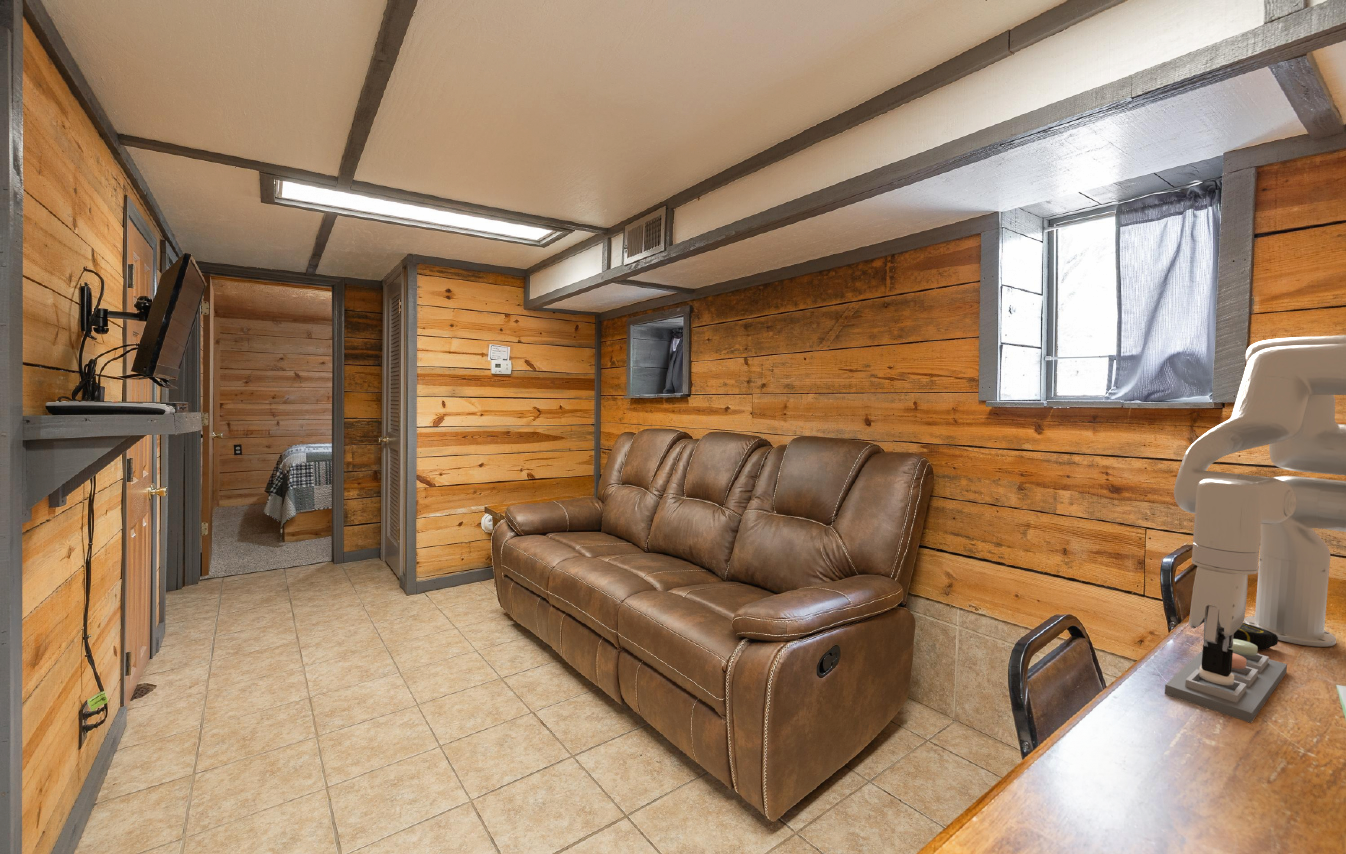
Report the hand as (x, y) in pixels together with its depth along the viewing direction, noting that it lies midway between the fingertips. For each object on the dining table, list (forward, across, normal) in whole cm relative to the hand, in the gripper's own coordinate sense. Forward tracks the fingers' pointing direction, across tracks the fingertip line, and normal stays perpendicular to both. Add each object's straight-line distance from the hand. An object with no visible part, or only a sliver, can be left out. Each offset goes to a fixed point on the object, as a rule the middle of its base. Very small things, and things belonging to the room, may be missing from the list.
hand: (1216, 671), depth 92 cm
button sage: (+1, -16, 0) cm, 16 cm away
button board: (+4, -8, 0) cm, 9 cm away
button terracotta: (+1, -8, 0) cm, 8 cm away
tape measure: (+4, -31, -2) cm, 32 cm away
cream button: (+1, 0, 0) cm, 1 cm away
